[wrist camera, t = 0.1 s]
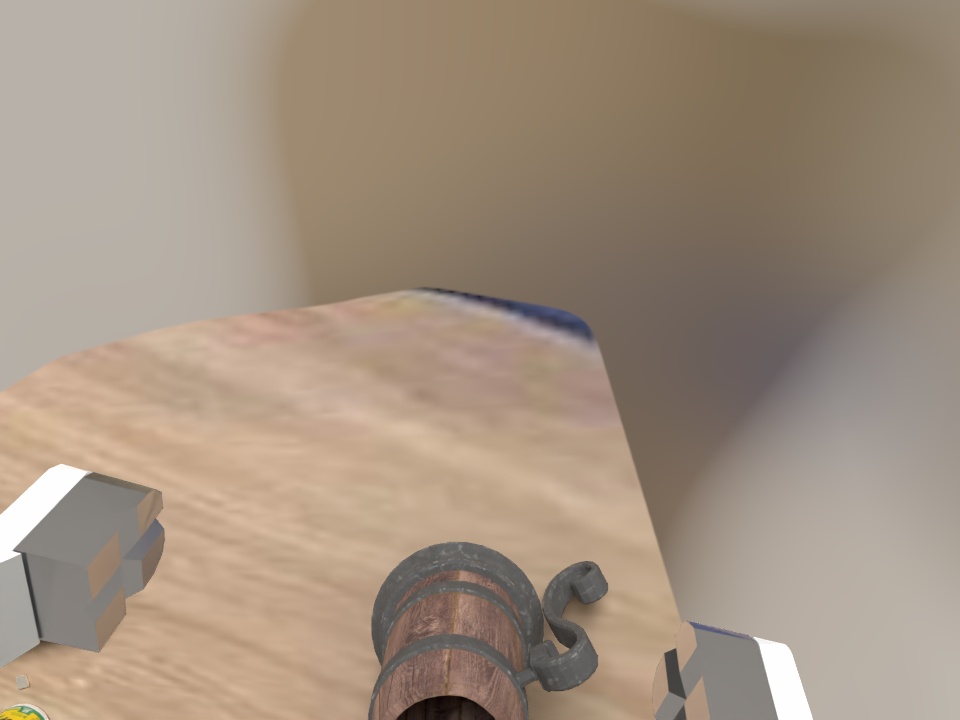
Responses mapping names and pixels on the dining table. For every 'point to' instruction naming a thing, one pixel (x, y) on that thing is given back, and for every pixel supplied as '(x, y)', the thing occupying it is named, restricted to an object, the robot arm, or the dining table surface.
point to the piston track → (22, 681)
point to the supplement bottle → (23, 713)
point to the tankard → (475, 635)
